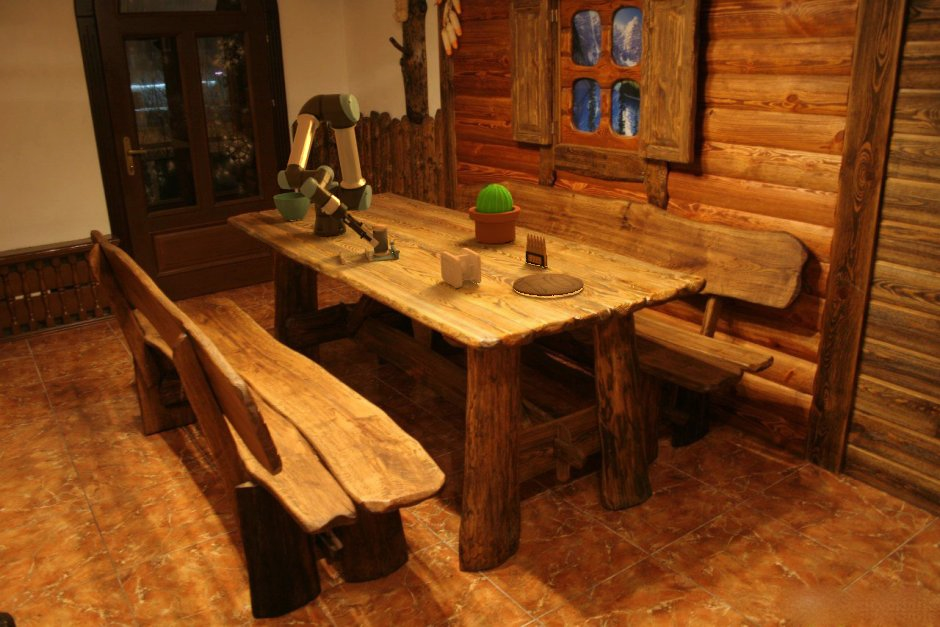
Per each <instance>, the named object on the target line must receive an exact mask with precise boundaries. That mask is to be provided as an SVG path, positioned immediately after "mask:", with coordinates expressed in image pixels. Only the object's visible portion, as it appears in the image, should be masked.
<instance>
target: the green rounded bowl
mask: <svg viewBox="0 0 940 627" xmlns="http://www.w3.org/2000/svg"><path fill="white" fill-rule="evenodd" d="M273 202H274V205H275V207H276V210H277V211H278V212H279V214H280V216H281V217H282V218H283V219H284V220H285V219H286V220H285V221H287V220H298V219H302V220H304V218H305V217H306V216H307V213H308V211H309V208H310V206H311V200H309V199H308V198H306V196H305V195H303V194H302V193H301V191H300V192H299V191H297V192H295V191H293V192H286V193H281V194H276V195H274V196H273Z"/></svg>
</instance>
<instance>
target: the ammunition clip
mask: <svg viewBox="0 0 940 627" xmlns="http://www.w3.org/2000/svg"><path fill="white" fill-rule="evenodd" d="M525 248H526V250H525V263H526V262H527V263H531V264H535V265H540V266H543V267H545V266H547V267H548V254H547V244H546V238H545V237H542V236H540V237H539V235H537V236H536V234H534V235H533V234H530V233H527V236H526V245H525ZM527 263H526V264H527Z"/></svg>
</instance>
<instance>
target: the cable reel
mask: <svg viewBox="0 0 940 627" xmlns="http://www.w3.org/2000/svg"><path fill="white" fill-rule="evenodd" d="M371 231H372V234H373V238H374V239H375V240H376V241H378V242H379V243H378V245H377V246H376V247H375V248H374V247H373V251H374V256H377V257H383V256H388V255H389V251H388V249H389V239H388V238H389V237H388V225H387V224H375V225H372V226H371Z"/></svg>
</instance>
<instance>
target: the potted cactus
mask: <svg viewBox="0 0 940 627" xmlns="http://www.w3.org/2000/svg"><path fill="white" fill-rule="evenodd" d="M476 195H477V198H476V203H475V206H472V207H470V208H468V217H469V219H470V220H471V221H473V222H474V231H475V232H474V234H475V235H474V237H475V240H476V242H479V243H482V244H489V245H496V244H498V243H499V244H506V243H510V242H512V241H514V240H516V220H519V219H520V218H521V214H522V213H521V207H520V206H518V205H515V204H514V198H513V196H512V194H511V191H509V189H508V188H507V187H506V186H505V187H504V185H502V184H499V183H490V184H488V183H487V184H486V185H484V186H483V187H481V189H480V191H479V192H478V194H476ZM509 241H510V242H509ZM505 242H506V243H505Z"/></svg>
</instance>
